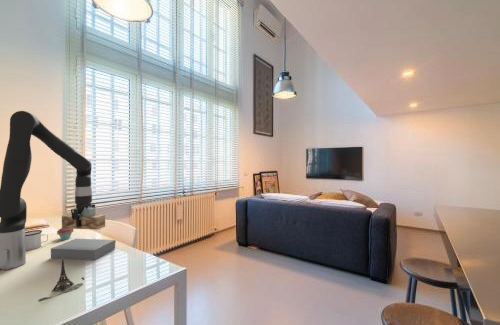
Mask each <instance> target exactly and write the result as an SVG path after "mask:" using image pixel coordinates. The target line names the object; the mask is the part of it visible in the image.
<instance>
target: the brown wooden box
mask: <svg viewBox="0 0 500 325" xmlns="http://www.w3.org/2000/svg"><path fill="white" fill-rule="evenodd" d="M78 218H79V217H78ZM61 228H66V229H73V230H95V231H96V230H97V231H98V230H101V229H103V228H106V215H105V214H95V215H94V216H91V217H83V216H82V218H81V227H77V226H76V220H72V215H71V213H69V214H65V215H62V216H61Z"/></svg>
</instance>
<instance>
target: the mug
mask: <svg viewBox="0 0 500 325" xmlns="http://www.w3.org/2000/svg"><path fill="white" fill-rule="evenodd" d="M42 232H43V230H42V229H41V230H40V229H36V230H35V229H34V230H29V231H25V251H32V250H36V249H38V248H40V247H42V243H46V242H48V240H49V235H48V233H42ZM42 236H46V240H44V241H43V240H42Z"/></svg>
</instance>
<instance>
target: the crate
mask: <svg viewBox="0 0 500 325" xmlns="http://www.w3.org/2000/svg"><path fill="white" fill-rule="evenodd" d="M94 215H96V207H95V208H86V209H84V210H83V217H91V216H94Z"/></svg>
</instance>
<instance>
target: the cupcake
mask: <svg viewBox="0 0 500 325" xmlns="http://www.w3.org/2000/svg"><path fill="white" fill-rule="evenodd" d="M74 230H75V229H66V228H62V227H61V228H59V229H58V230H57V231H56V234H57V235H58V236H59V238H60V239H61V240H67V239H70V238H71V236H72V233H73V232H74Z"/></svg>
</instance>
